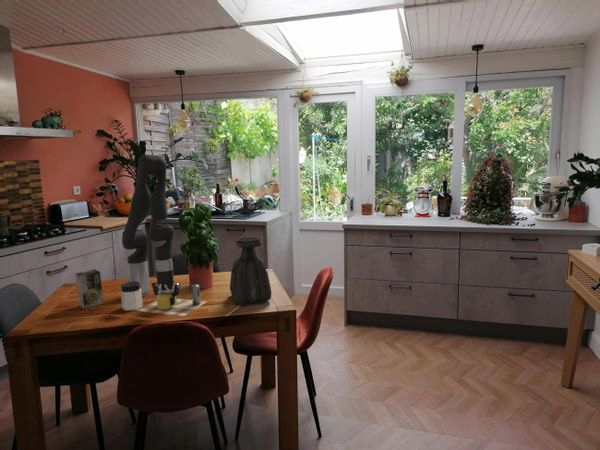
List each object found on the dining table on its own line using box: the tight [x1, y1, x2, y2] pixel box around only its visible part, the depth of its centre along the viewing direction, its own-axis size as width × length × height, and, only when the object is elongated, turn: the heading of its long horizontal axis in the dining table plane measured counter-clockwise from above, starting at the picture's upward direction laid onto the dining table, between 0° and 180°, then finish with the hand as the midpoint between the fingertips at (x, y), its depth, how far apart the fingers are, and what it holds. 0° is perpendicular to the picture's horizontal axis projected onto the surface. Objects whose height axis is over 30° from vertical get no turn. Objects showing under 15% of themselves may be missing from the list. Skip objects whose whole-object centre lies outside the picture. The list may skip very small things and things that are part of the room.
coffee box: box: [75, 268, 104, 309], centre depth 204 cm, size 9×6×16 cm
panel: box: [136, 298, 207, 317], centre depth 197 cm, size 25×19×1 cm
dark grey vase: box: [229, 236, 272, 307], centre depth 203 cm, size 18×16×30 cm
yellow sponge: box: [155, 290, 178, 310], centre depth 197 cm, size 5×8×6 cm, turn 162°
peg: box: [190, 284, 201, 306], centre depth 198 cm, size 4×4×9 cm
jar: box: [120, 281, 144, 311], centre depth 196 cm, size 9×8×12 cm
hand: (167, 304), depth 197 cm, fingers closed on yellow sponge, 5 cm apart
